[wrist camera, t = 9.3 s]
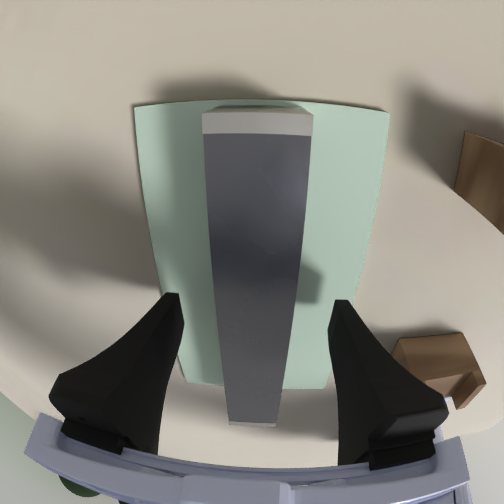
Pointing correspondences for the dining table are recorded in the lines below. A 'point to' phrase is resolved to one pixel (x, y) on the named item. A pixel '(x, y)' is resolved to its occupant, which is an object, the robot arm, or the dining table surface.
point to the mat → (314, 238)
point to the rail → (255, 245)
